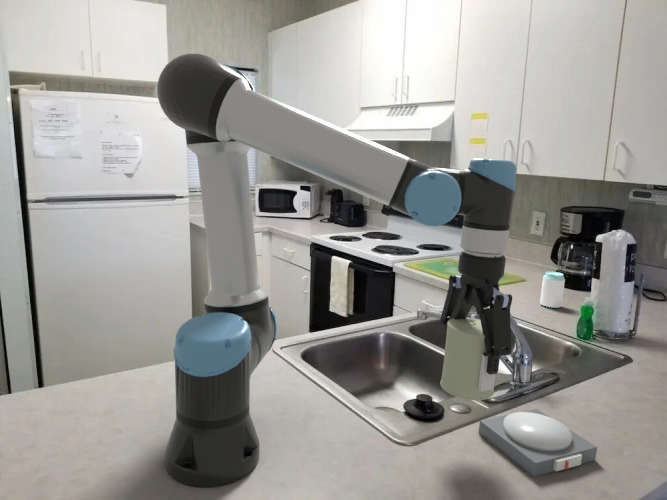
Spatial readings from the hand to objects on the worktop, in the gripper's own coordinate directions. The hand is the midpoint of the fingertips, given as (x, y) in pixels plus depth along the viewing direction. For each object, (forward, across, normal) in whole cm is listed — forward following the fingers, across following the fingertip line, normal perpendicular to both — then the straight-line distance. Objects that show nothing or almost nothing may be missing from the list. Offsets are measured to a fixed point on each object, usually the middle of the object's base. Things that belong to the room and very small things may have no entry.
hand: (467, 377), depth 90 cm
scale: (+13, -5, -12) cm, 18 cm away
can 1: (+2, 0, 0) cm, 2 cm away
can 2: (+12, +62, -84) cm, 105 cm away
